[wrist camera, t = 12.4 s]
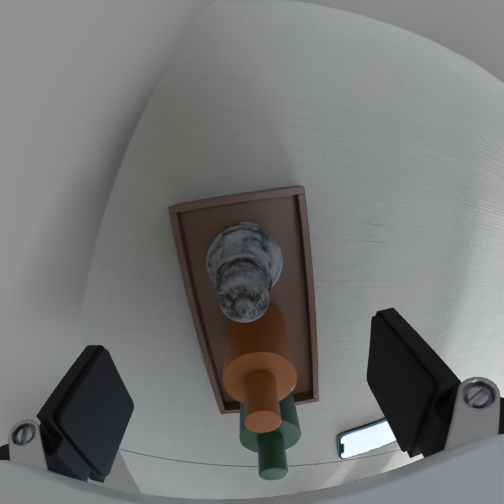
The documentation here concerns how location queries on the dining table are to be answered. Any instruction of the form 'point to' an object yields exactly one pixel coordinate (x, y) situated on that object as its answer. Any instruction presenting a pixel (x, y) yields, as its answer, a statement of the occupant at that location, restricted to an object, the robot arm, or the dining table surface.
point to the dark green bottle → (273, 440)
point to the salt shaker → (244, 270)
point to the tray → (282, 293)
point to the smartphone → (365, 439)
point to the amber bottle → (259, 368)
